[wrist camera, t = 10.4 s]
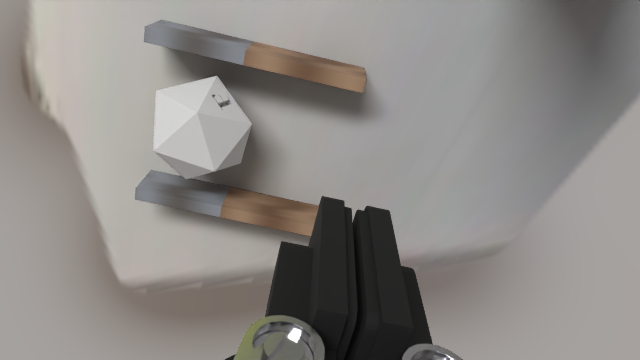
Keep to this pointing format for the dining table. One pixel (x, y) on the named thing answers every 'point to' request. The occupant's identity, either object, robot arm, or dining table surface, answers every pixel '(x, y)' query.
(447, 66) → the dining table surface
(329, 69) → the channel
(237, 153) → the die
